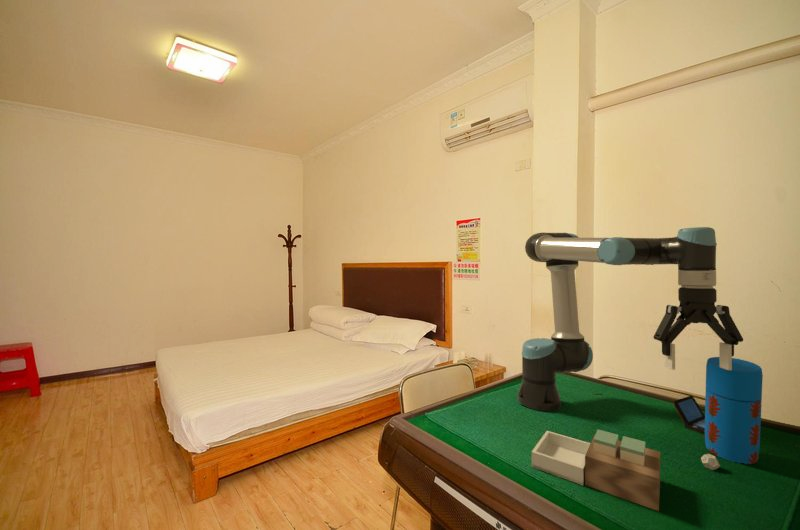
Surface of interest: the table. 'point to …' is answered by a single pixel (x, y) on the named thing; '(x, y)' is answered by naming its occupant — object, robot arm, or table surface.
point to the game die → (710, 461)
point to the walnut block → (625, 476)
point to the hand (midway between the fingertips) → (697, 368)
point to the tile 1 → (606, 443)
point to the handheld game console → (691, 414)
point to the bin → (561, 456)
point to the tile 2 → (632, 450)
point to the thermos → (733, 410)
